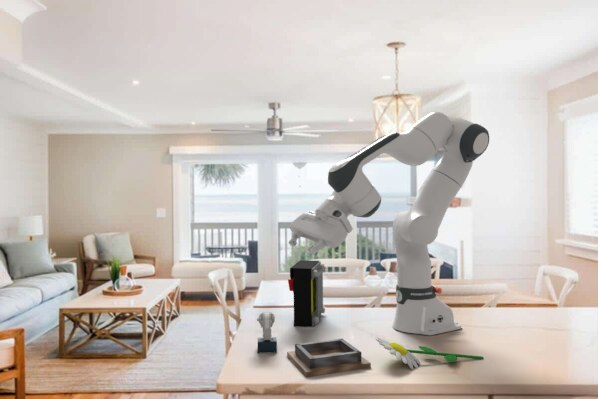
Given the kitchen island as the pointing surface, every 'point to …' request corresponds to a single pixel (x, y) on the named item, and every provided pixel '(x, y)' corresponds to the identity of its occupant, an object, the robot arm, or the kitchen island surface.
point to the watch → (267, 333)
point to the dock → (327, 357)
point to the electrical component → (307, 292)
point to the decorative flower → (410, 358)
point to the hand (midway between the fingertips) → (300, 248)
